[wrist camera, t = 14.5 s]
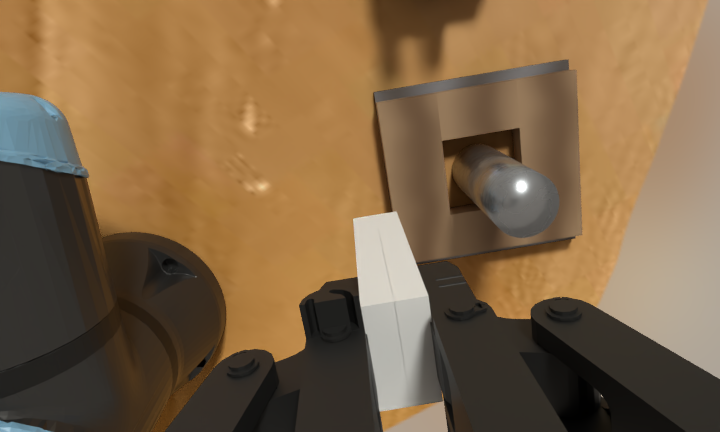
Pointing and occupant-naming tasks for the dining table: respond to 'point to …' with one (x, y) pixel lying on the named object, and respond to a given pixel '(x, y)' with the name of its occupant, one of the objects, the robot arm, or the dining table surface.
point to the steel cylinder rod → (506, 190)
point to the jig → (468, 118)
